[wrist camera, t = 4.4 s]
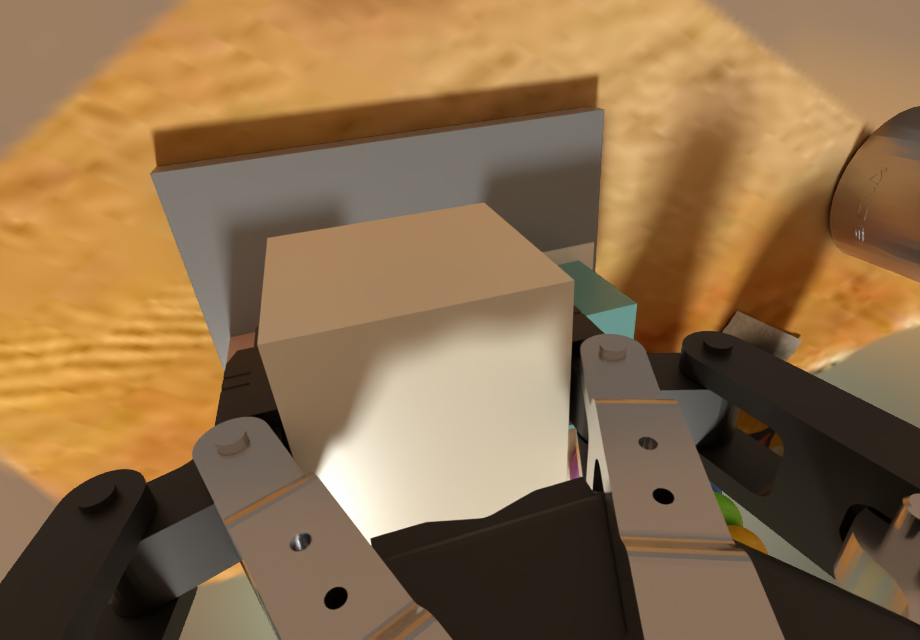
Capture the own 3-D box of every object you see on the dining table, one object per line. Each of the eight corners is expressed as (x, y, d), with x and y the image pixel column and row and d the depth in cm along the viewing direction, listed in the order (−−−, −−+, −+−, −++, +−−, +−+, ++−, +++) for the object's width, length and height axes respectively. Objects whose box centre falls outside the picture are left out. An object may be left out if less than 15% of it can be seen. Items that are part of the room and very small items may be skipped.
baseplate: (590, 106, 24) (605, 109, 23) (578, 370, 31) (589, 382, 30) (156, 166, 20) (149, 174, 19) (262, 454, 27) (261, 471, 26)
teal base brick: (579, 260, 26) (637, 303, 22) (575, 358, 29) (625, 413, 25) (466, 284, 25) (505, 334, 21) (474, 384, 28) (509, 446, 24)
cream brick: (484, 202, 13) (574, 280, 9) (493, 372, 16) (565, 493, 12) (267, 237, 12) (257, 345, 8) (315, 414, 15) (327, 563, 11)
